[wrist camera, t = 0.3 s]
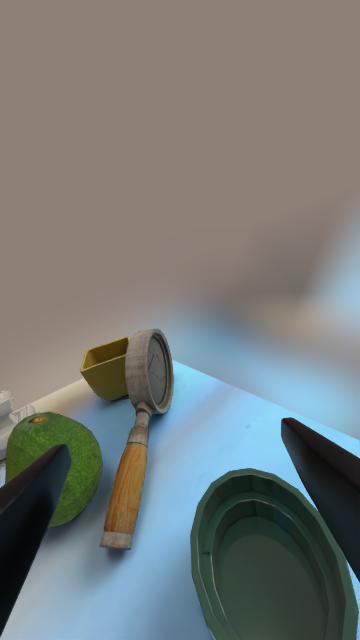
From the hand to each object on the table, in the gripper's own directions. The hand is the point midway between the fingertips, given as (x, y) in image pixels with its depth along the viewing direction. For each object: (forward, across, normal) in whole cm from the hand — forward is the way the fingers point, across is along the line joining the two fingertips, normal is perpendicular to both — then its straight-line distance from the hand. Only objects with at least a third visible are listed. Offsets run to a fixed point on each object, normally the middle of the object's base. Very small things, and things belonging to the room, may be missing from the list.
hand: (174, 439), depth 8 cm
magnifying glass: (+17, +5, +15) cm, 23 cm away
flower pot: (+28, +12, +15) cm, 34 cm away
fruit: (+10, +13, +17) cm, 23 cm away
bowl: (+2, -5, +16) cm, 16 cm away
